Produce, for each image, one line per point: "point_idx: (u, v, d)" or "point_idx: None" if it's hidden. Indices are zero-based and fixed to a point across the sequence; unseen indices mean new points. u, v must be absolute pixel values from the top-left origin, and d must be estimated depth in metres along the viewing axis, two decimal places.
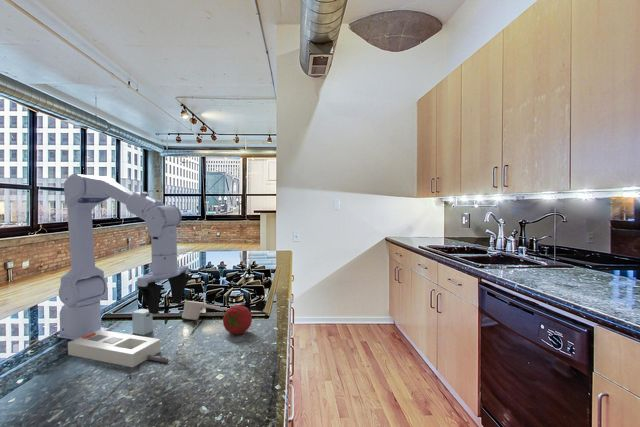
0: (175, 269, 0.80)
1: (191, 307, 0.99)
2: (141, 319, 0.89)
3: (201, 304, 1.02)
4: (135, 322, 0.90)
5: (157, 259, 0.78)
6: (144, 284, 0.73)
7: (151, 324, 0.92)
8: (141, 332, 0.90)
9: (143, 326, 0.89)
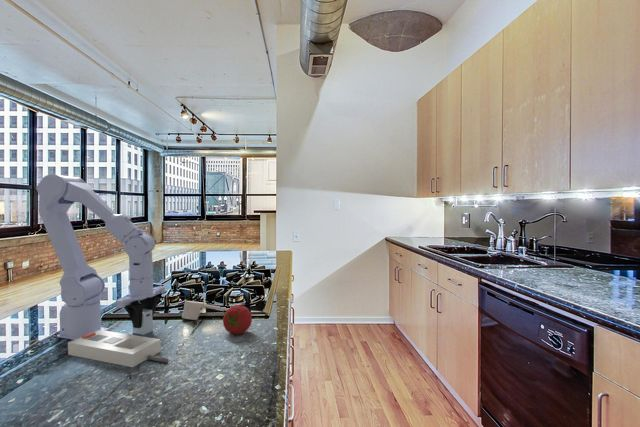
0: (151, 291, 0.90)
1: (191, 308, 0.99)
2: None
3: (201, 304, 1.02)
4: None
5: (134, 283, 0.88)
6: (121, 306, 0.84)
7: (151, 324, 0.92)
8: (141, 332, 0.90)
9: (143, 326, 0.89)
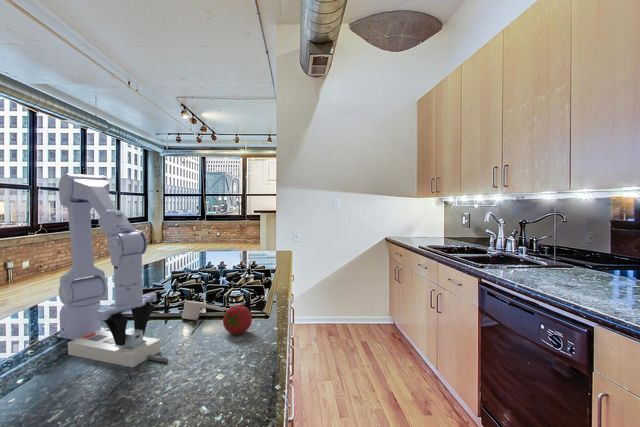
0: (140, 299, 0.76)
1: (191, 307, 0.99)
2: (129, 341, 0.75)
3: (201, 304, 1.02)
4: None
5: (119, 290, 0.74)
6: (103, 318, 0.69)
7: None
8: None
9: None
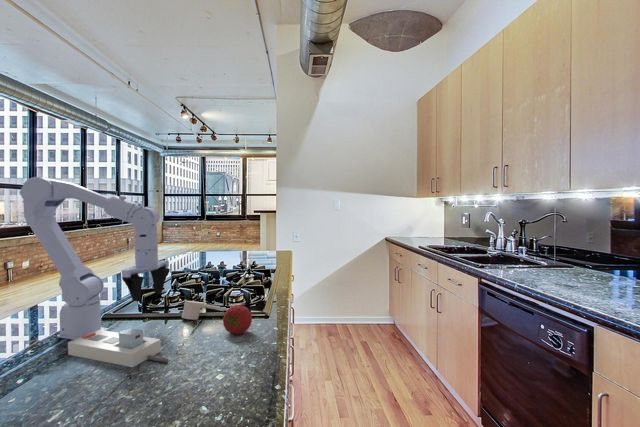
0: (156, 263, 0.92)
1: (191, 307, 0.99)
2: (129, 341, 0.75)
3: (201, 304, 1.02)
4: (122, 345, 0.76)
5: (139, 254, 0.89)
6: (127, 275, 0.85)
7: None
8: None
9: None
